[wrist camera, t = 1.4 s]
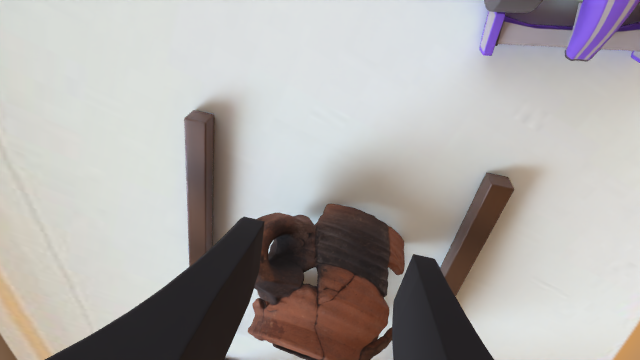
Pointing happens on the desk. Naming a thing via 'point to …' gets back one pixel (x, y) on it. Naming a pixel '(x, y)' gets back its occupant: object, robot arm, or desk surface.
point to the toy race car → (565, 28)
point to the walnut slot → (200, 204)
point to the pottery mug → (326, 284)
